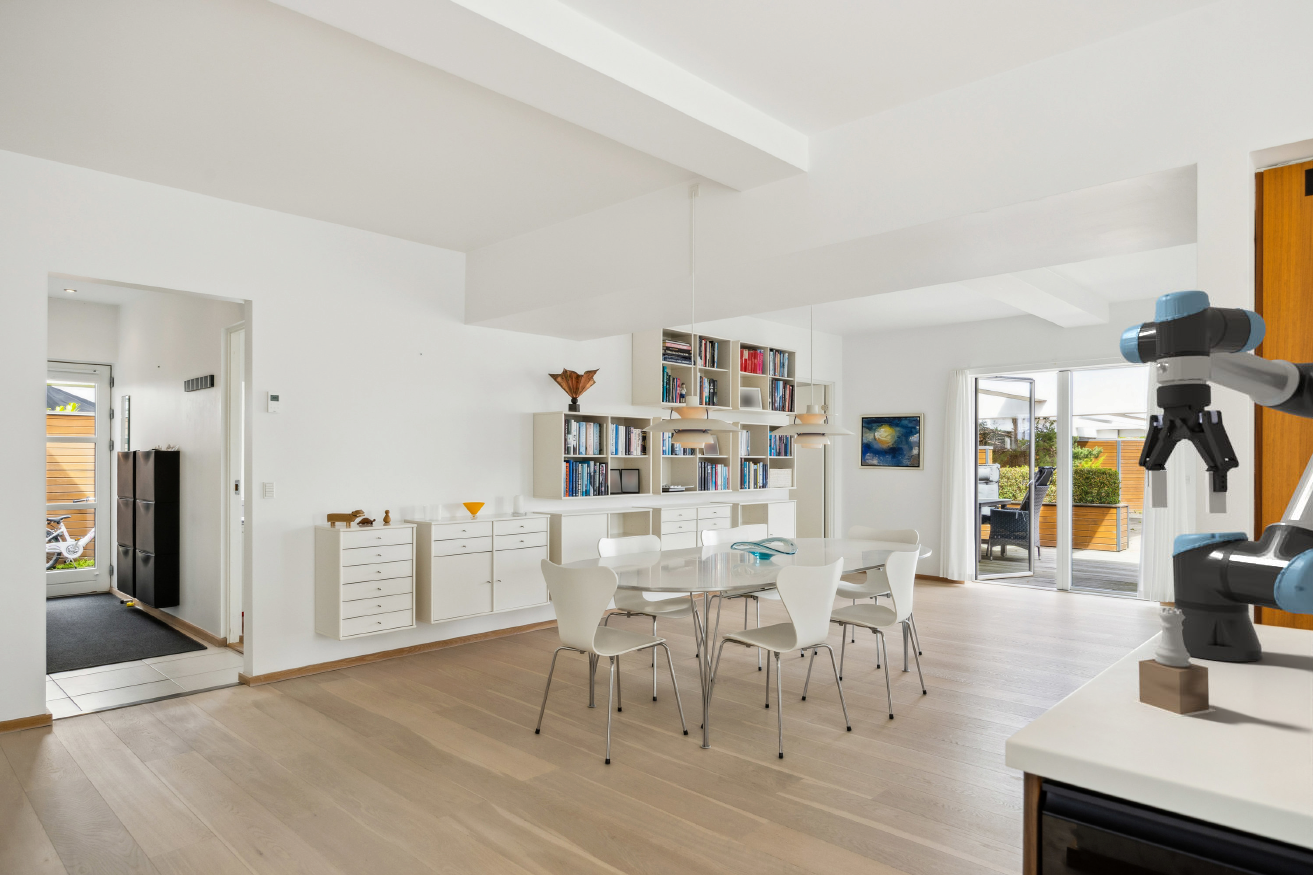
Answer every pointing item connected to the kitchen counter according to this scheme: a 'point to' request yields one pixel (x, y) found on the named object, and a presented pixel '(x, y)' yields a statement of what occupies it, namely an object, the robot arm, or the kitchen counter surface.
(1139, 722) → the kitchen counter surface
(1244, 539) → the robot arm
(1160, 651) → the rook chess piece
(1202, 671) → the walnut cube
